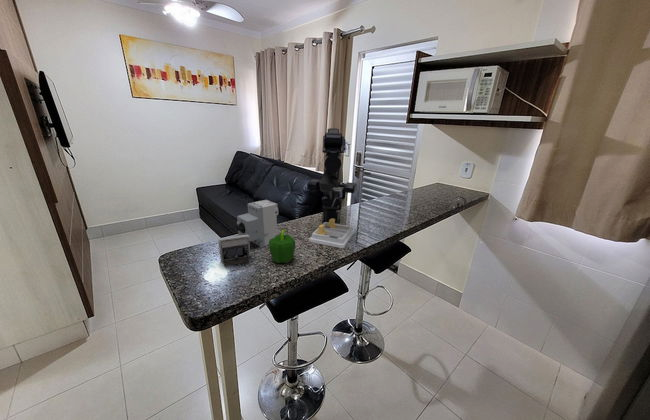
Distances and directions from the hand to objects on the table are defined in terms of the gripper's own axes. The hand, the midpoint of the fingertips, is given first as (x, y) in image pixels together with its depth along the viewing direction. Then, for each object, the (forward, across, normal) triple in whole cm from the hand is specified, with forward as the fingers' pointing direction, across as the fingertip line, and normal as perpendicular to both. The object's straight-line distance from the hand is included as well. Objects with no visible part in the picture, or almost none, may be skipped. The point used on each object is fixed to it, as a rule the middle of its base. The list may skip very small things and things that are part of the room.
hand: (331, 207), depth 99 cm
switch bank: (+12, +2, -1) cm, 12 cm away
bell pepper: (+12, -9, -25) cm, 29 cm away
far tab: (+11, 0, +3) cm, 11 cm away
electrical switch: (+12, -22, -31) cm, 40 cm away
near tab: (+11, -2, -5) cm, 12 cm away
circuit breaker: (+12, -23, -17) cm, 31 cm away
